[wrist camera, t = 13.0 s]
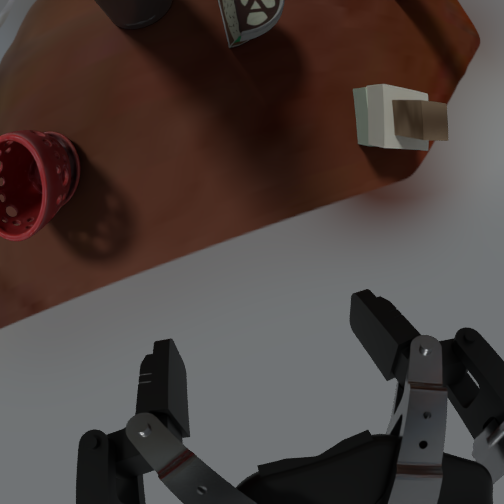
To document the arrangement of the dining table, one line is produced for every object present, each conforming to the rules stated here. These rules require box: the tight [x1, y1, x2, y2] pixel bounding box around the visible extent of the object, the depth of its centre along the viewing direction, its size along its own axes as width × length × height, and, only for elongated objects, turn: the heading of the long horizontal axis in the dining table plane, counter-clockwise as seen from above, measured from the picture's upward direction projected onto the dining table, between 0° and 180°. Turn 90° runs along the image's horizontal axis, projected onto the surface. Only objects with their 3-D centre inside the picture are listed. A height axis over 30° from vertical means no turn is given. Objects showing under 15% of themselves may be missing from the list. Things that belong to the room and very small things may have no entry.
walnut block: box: [392, 100, 448, 141], centre depth 28 cm, size 5×5×6 cm
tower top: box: [366, 84, 429, 151], centre depth 33 cm, size 9×9×4 cm
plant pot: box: [0, 130, 80, 241], centre depth 26 cm, size 13×13×12 cm
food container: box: [218, 0, 284, 48], centre depth 24 cm, size 12×6×10 cm, turn 11°
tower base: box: [353, 87, 372, 147], centre depth 36 cm, size 9×9×4 cm
